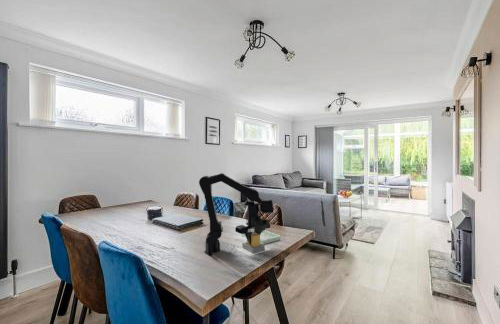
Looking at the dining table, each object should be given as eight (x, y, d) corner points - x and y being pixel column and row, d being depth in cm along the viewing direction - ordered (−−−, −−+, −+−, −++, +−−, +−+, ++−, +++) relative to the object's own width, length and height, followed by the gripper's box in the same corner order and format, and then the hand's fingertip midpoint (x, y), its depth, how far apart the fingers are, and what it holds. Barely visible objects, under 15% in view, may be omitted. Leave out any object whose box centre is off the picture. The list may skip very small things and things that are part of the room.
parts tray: (262, 246, 137) (262, 240, 137) (241, 236, 154) (241, 231, 154) (280, 241, 145) (280, 235, 145) (259, 232, 162) (259, 227, 162)
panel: (249, 258, 121) (249, 250, 121) (235, 250, 131) (235, 244, 131) (271, 251, 130) (271, 244, 129) (257, 244, 139) (257, 238, 139)
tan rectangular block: (253, 251, 127) (253, 236, 127) (246, 248, 132) (246, 233, 131) (260, 250, 129) (259, 234, 129) (253, 246, 134) (252, 231, 134)
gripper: (247, 219, 118) (247, 252, 118) (277, 213, 129) (277, 243, 129) (234, 214, 127) (234, 245, 127) (263, 210, 138) (263, 238, 138)
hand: (253, 243), depth 130 cm, fingers closed on tan rectangular block, 4 cm apart
